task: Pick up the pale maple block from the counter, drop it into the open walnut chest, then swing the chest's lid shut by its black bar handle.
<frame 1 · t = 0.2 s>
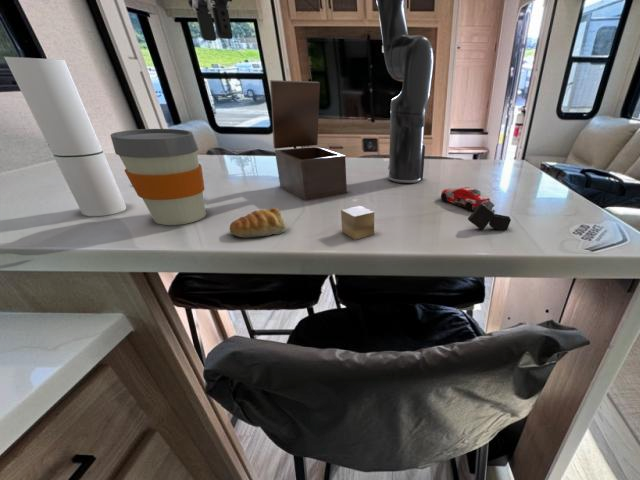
hand: (217, 39, 56), 29 cm above the table, tool pointing down, fingers open, 8 cm apart
cylindrical container: (105, 211, 68), on the table
race car: (463, 205, 81), on the table
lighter: (486, 229, 69), on the table
chest: (313, 189, 86), on the table
lid: (291, 112, 81), point 17 cm above the table, hinge at 75.0°
reusable coffee cup: (181, 217, 67), on the table
block: (358, 233, 64), on the table
pastry: (262, 232, 63), on the table
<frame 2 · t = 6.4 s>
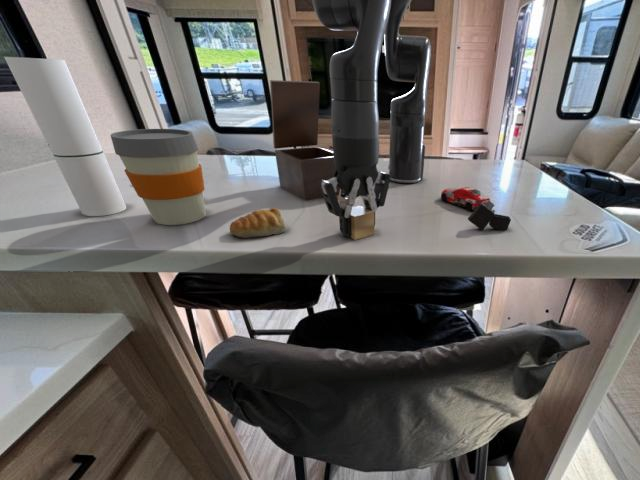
hand: (358, 231, 63), 0 cm above the table, tool pointing down, fingers closed on block, 4 cm apart
block: (358, 233, 64), on the table, touching gripper
everything else where it was.
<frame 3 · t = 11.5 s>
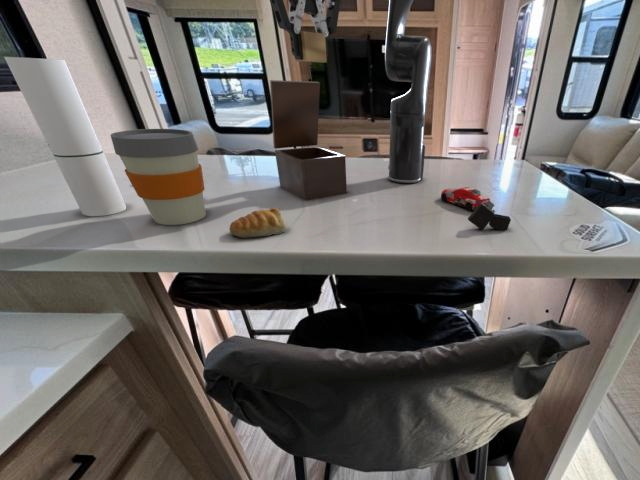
hand: (311, 59, 65), 27 cm above the table, tool pointing down, fingers closed on block, 4 cm apart
block: (311, 61, 65), point 27 cm above the table, touching gripper
everything else where it was.
when the fingers open (8 cm above the table, at t = 16.5 s): block drops 7 cm, resting on chest.
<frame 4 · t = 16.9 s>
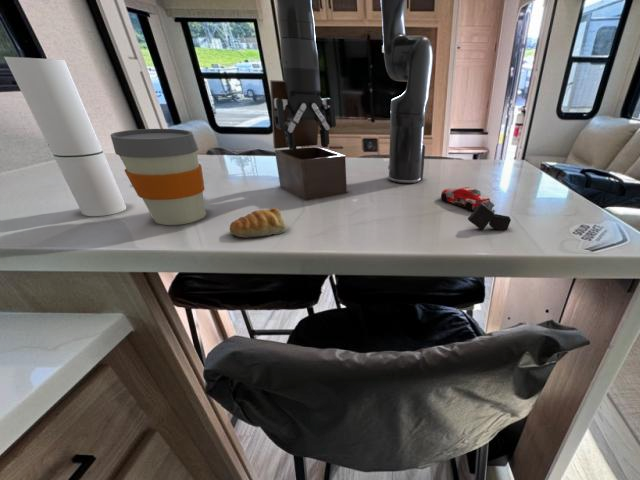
hand: (309, 148, 81), 10 cm above the table, tool pointing down, fingers open, 8 cm apart
block: (312, 186, 85), point 1 cm above the table, touching chest
everything else where it was.
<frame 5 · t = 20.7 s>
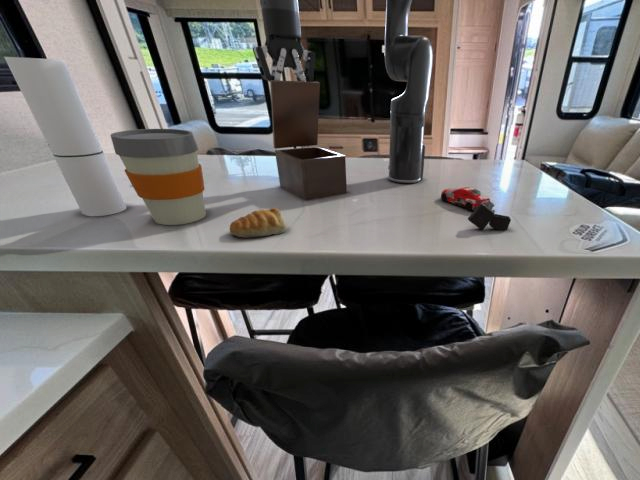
hand: (291, 102, 80), 19 cm above the table, tool pointing down, fingers closed on lid, 5 cm apart
lid: (291, 112, 81), point 17 cm above the table, hinge at 75.0°, touching gripper
everything else where it was.
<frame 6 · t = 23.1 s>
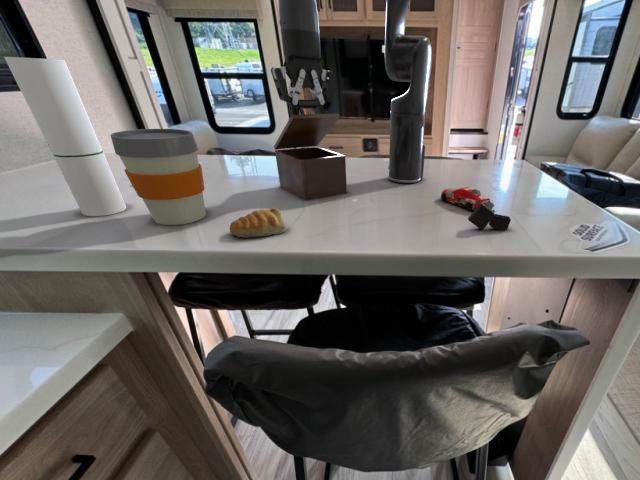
hand: (308, 123, 77), 15 cm above the table, tool pointing down, fingers closed on lid, 5 cm apart
lid: (302, 123, 79), point 15 cm above the table, hinge at 33.4°, touching gripper
everything else where it was.
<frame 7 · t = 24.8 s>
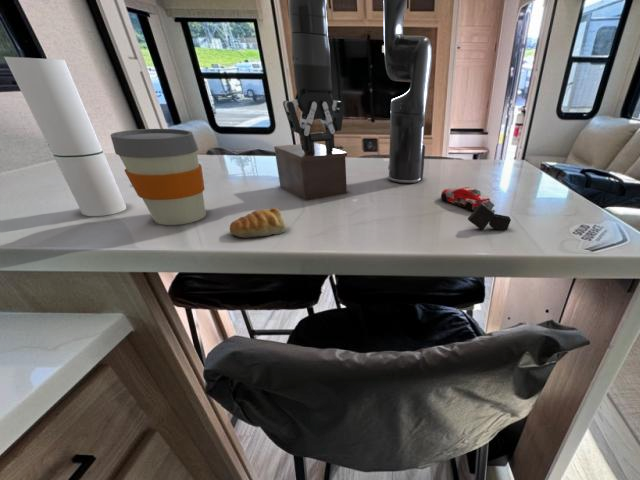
hand: (318, 152, 78), 10 cm above the table, tool pointing down, fingers closed on lid, 5 cm apart
lid: (309, 141, 79), point 11 cm above the table, hinge at -0.2°, touching chest, gripper
everything else where it was.
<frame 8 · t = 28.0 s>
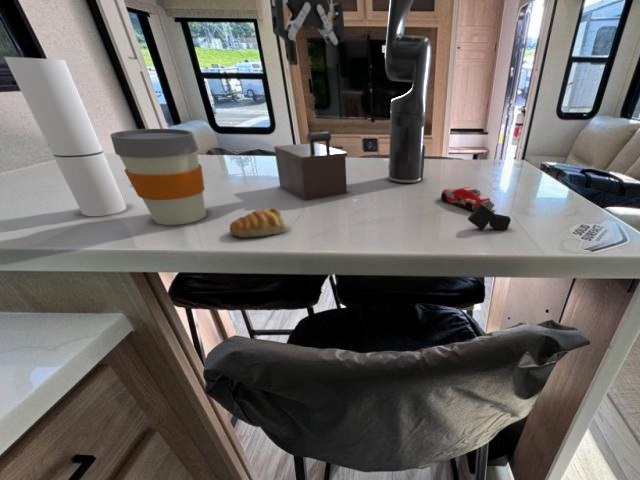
hand: (313, 66, 68), 26 cm above the table, tool pointing down, fingers open, 8 cm apart
lid: (309, 141, 79), point 11 cm above the table, hinge at -0.2°, touching chest
everything else where it was.
at the end: block inside the target area in the chest (0.1 cm from its centre), point 0.8 cm above the chest's base; lid at +0° (first picture: +75°) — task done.
